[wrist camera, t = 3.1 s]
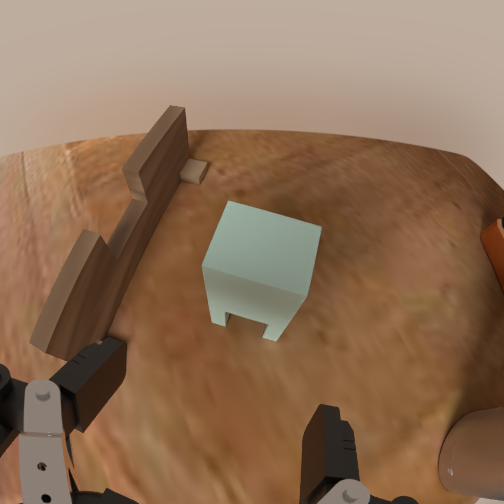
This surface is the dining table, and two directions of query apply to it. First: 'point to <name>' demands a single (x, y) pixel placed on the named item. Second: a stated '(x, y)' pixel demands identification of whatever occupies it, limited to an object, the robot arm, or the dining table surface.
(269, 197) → the dining table surface
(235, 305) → the pale green rectangular block
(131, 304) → the dining table surface
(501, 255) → the whiskey bottle
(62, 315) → the brown notched barrier
